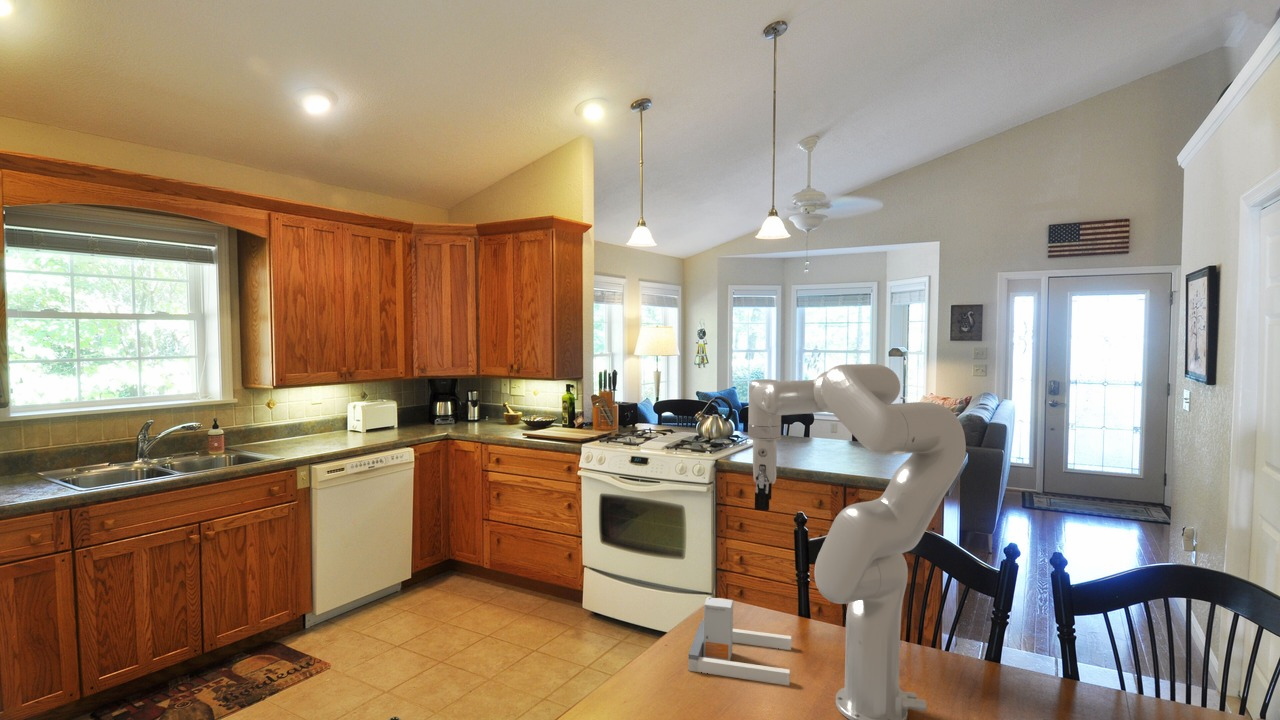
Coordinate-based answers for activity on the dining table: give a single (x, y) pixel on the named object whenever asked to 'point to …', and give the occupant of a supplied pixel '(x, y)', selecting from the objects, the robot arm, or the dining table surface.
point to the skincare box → (718, 628)
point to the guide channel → (737, 668)
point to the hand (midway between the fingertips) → (763, 504)
